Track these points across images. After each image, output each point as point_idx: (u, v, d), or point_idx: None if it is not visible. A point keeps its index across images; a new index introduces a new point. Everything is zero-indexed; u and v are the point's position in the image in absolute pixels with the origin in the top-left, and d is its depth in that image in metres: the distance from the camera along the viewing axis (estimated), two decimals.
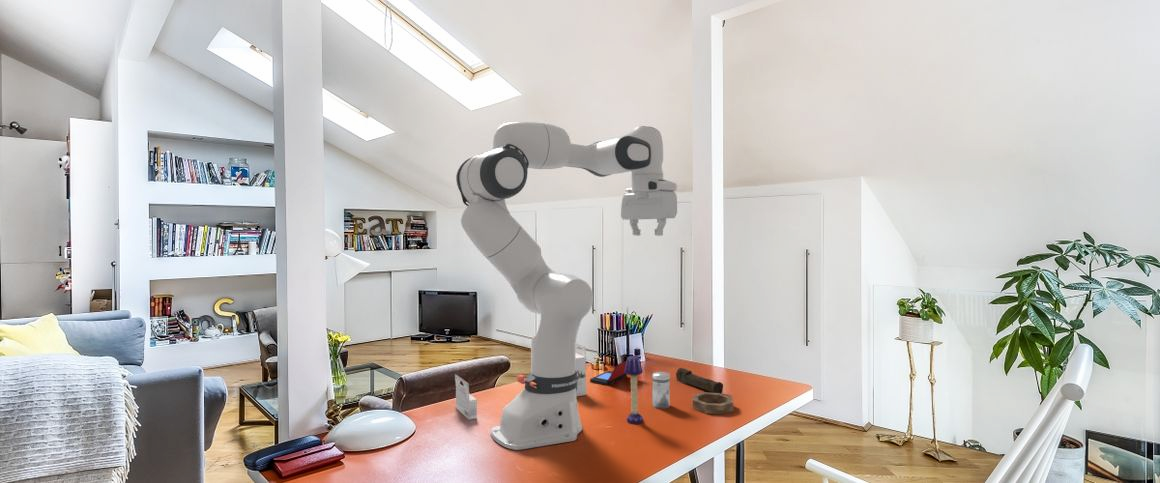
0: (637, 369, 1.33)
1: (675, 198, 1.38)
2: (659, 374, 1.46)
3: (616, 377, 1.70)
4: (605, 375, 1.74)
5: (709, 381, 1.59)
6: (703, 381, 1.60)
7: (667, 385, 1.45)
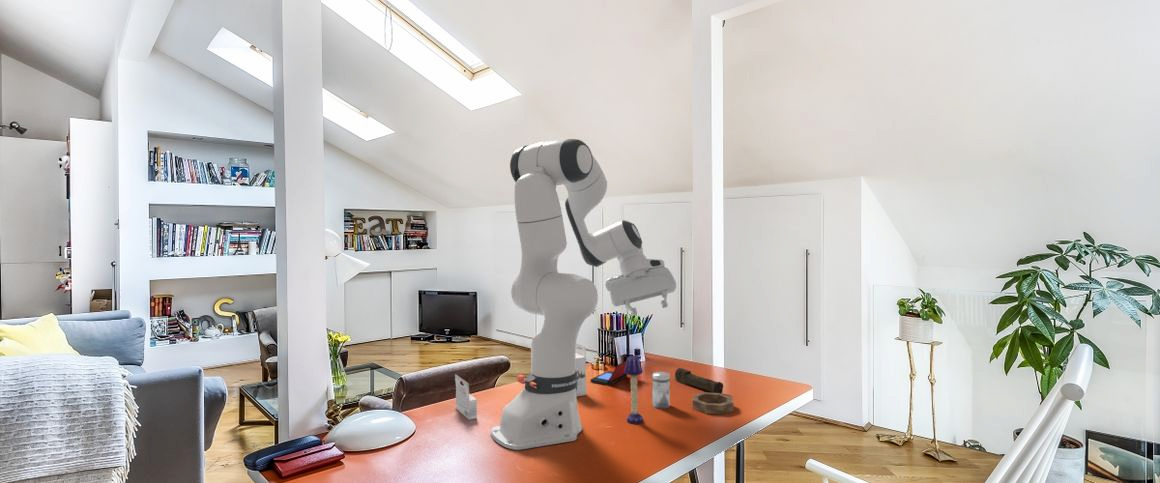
0: (637, 369, 1.33)
1: None
2: (659, 374, 1.46)
3: (617, 377, 1.70)
4: (605, 375, 1.74)
5: (709, 381, 1.59)
6: (703, 381, 1.60)
7: (667, 385, 1.45)
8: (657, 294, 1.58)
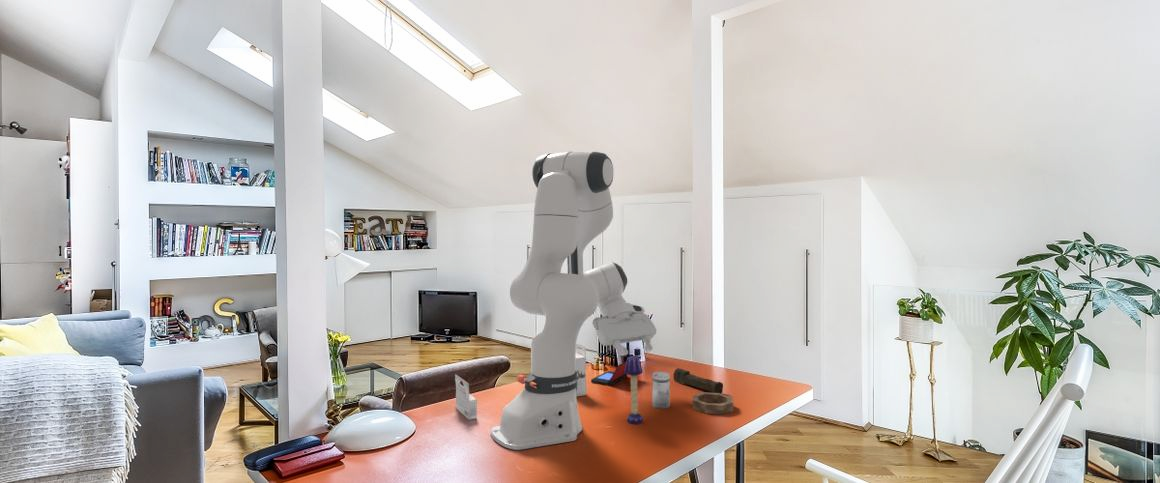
0: (637, 369, 1.33)
1: None
2: (659, 374, 1.46)
3: (617, 377, 1.70)
4: (606, 375, 1.74)
5: (709, 381, 1.59)
6: (702, 381, 1.60)
7: (667, 385, 1.45)
8: (638, 339, 1.61)
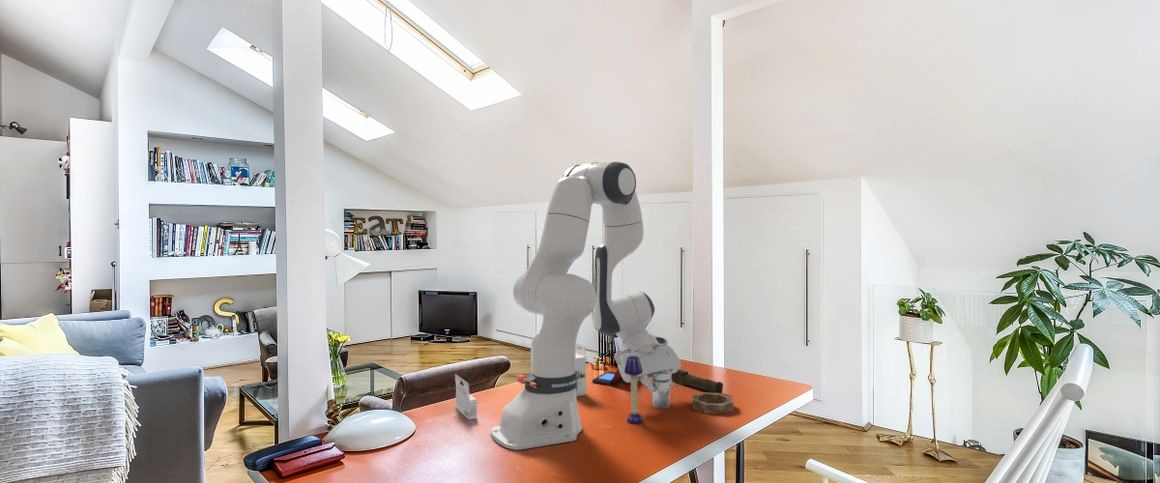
0: (637, 369, 1.33)
1: None
2: (659, 374, 1.46)
3: (618, 377, 1.70)
4: (606, 375, 1.74)
5: (709, 381, 1.59)
6: (702, 381, 1.60)
7: (667, 385, 1.45)
8: None
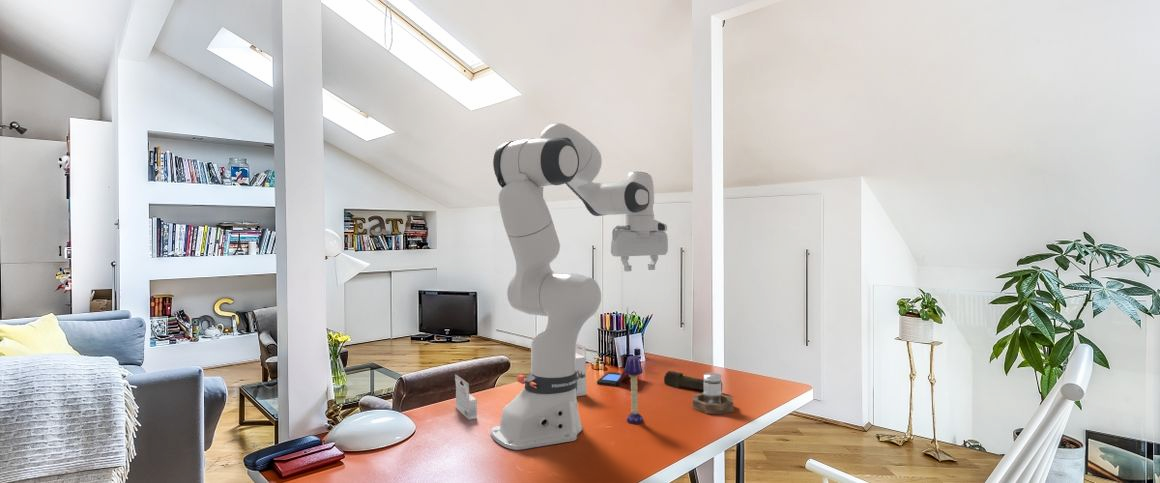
0: (637, 369, 1.33)
1: None
2: (711, 375, 1.45)
3: (623, 377, 1.69)
4: (609, 376, 1.73)
5: None
6: (702, 382, 1.59)
7: (719, 386, 1.43)
8: None
